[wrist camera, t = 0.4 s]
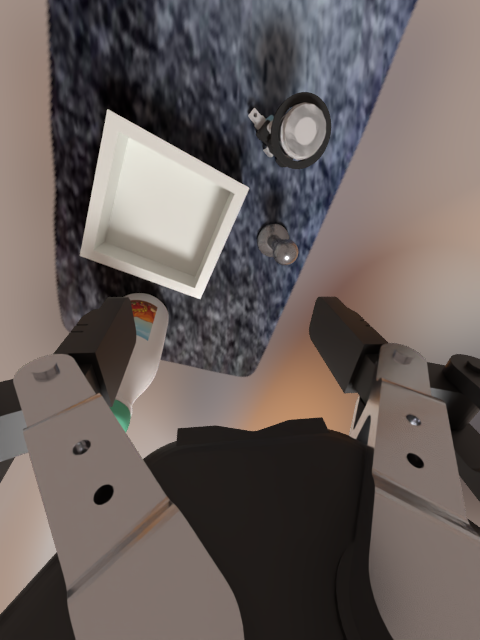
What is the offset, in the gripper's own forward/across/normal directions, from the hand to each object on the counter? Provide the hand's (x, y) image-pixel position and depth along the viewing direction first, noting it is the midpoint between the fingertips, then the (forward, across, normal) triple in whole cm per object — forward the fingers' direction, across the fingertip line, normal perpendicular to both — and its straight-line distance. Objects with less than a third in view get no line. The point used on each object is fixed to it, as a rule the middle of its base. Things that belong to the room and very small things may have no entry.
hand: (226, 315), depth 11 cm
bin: (+25, +5, 0) cm, 26 cm away
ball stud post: (+25, -9, +3) cm, 27 cm away
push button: (+26, -7, -9) cm, 28 cm away
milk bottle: (+25, +10, +14) cm, 31 cm away
